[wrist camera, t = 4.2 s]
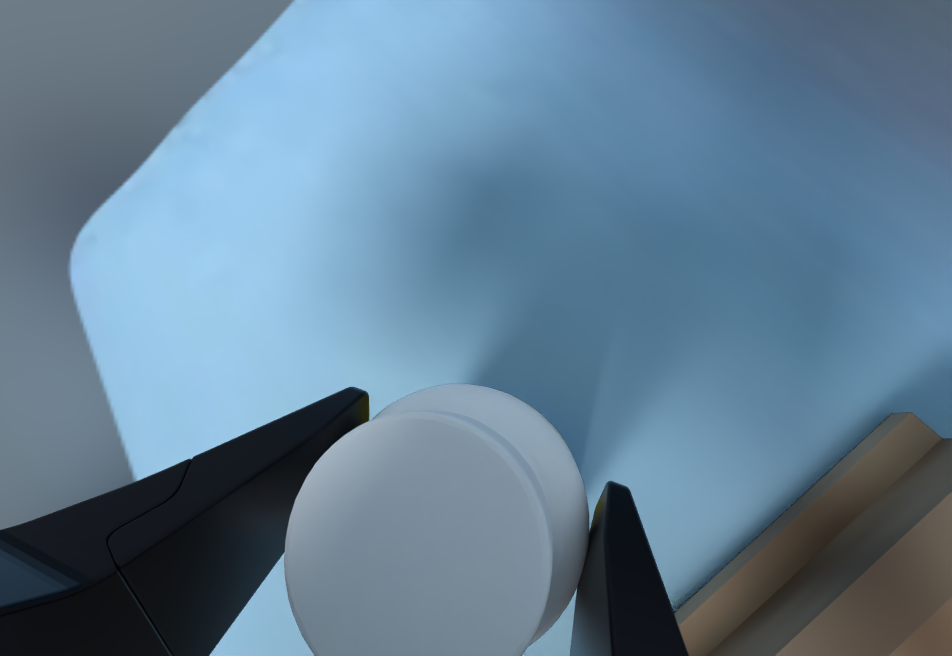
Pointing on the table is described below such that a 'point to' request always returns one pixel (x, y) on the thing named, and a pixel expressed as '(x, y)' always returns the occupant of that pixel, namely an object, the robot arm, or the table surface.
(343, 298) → the table surface
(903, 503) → the walnut track
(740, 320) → the table surface
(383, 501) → the supplement bottle
